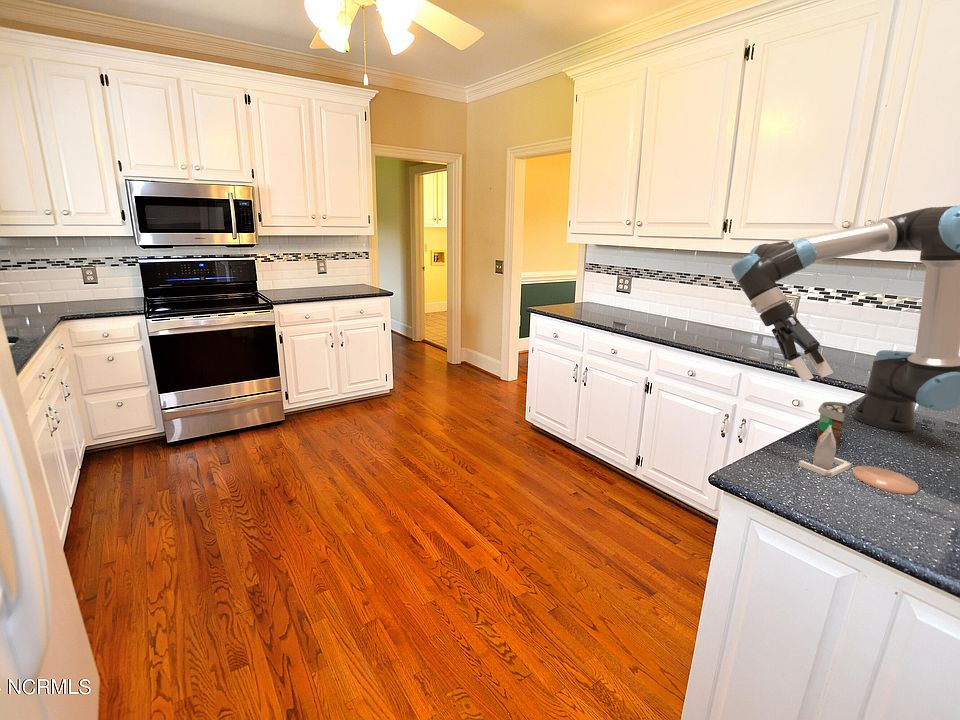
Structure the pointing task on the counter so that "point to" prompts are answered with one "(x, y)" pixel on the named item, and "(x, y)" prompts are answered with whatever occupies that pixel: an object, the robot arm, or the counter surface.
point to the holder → (828, 473)
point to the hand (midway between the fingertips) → (817, 377)
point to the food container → (832, 418)
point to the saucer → (885, 480)
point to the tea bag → (825, 450)
